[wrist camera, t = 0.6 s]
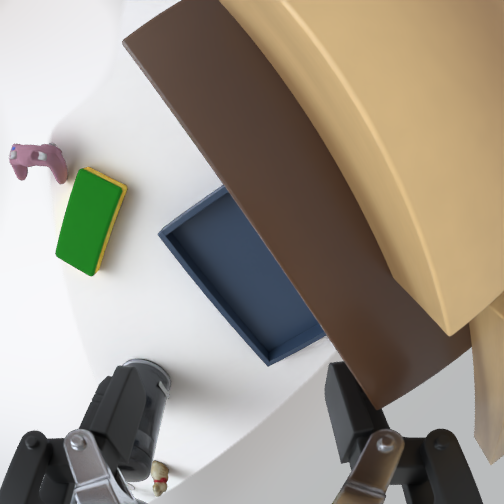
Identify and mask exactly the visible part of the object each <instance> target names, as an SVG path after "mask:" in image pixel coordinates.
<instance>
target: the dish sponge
mask: <svg viewBox="0 0 504 504" xmlns="http://www.w3.org/2000/svg"><path fill="white" fill-rule="evenodd" d="M126 192H127V186H126V185H124V184H122V183H120V182H118V181H116V180H114V179H112V178H110V177H108V176H106V175H104V174H102V173H100V172H98V171H96V170H94V169H92V168H90V167H86V168H82V169H80V170H79V171H78V174H77V176H76V179H75V182H74V186H73V189H72V192H71V195H70V198H69V202H68V205H67V209H66V212H65V216H64V220H63V223H62V227H61V231H60V235H59V240H58V244H57V248H56V253H55V254H56V256H57V257H58V258H60V259H61V260H63V261H65V262H67V263H68V264H70V265H72V266H73V267H75V268H77V269H78V270H80V271H82V272H84V273H85V274H87V275H89V276H93V275H94V274H95V273H96V272H97V271H98V270H99V268H100V265H101V262H102V259H103V255H104V252H105V249H106V246H107V243H108V240H109V237H110V234H111V232H112V229H113V226H114V223H115V220H116V218H117V215H118V212H119V210H120V207H121V204H122V202H123V199H124V197H125V194H126Z"/></svg>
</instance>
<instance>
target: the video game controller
mask: <svg viewBox="0 0 504 504" xmlns="http://www.w3.org/2000/svg"><path fill="white" fill-rule="evenodd" d="M61 153H62V151H61V150H60V149H59V148H57V147H56V145H55V144H54V143H49V145H48V144H43V145H41V146H37V145H20V144H13V145H12V149H11V151H10V158H9V160H10V163H11V165H12V167H13V169H14V172H15V174H16V176H17V178H18V179H19V180H25V178H26V177H27V173H28V169H27V167H31V166H35V165H37V166H47V167H49V168H50V169H51V171H52V172H53V174H54V176H55V179H56V180H57V182H58V183H59V184H64V183H65V182H66V180H67V174H68V172H67V165H66V162H65V160H64V158H63V156H62V154H61Z"/></svg>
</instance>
